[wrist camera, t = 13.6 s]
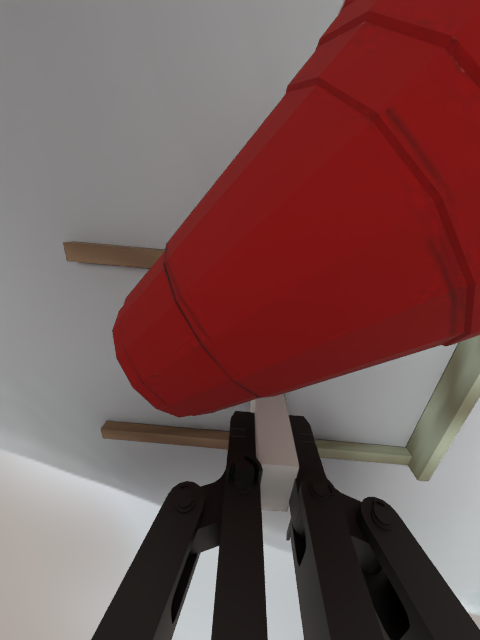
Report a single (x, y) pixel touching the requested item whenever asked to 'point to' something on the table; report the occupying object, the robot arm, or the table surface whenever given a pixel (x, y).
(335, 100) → the plastic cup
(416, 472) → the u-shaped frame
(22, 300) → the table surface
